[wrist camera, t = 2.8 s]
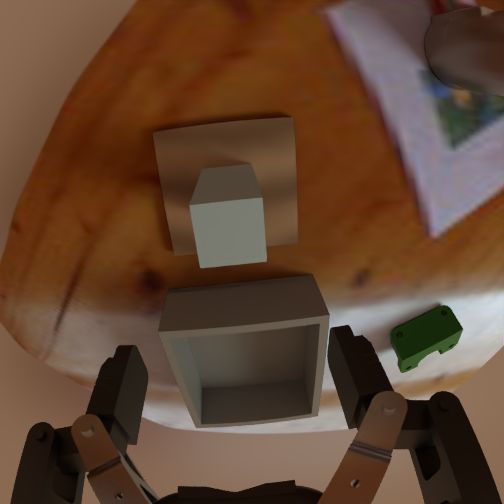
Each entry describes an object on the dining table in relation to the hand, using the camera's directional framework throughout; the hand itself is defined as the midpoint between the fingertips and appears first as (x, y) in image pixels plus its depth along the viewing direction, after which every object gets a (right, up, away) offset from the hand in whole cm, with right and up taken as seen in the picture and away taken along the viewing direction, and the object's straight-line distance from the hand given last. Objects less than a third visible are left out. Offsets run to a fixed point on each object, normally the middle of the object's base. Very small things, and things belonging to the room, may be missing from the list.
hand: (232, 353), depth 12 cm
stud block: (-2, +11, +21) cm, 23 cm away
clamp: (+28, -9, +34) cm, 45 cm away
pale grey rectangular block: (-2, +11, +20) cm, 22 cm away
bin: (0, -8, +31) cm, 32 cm away
